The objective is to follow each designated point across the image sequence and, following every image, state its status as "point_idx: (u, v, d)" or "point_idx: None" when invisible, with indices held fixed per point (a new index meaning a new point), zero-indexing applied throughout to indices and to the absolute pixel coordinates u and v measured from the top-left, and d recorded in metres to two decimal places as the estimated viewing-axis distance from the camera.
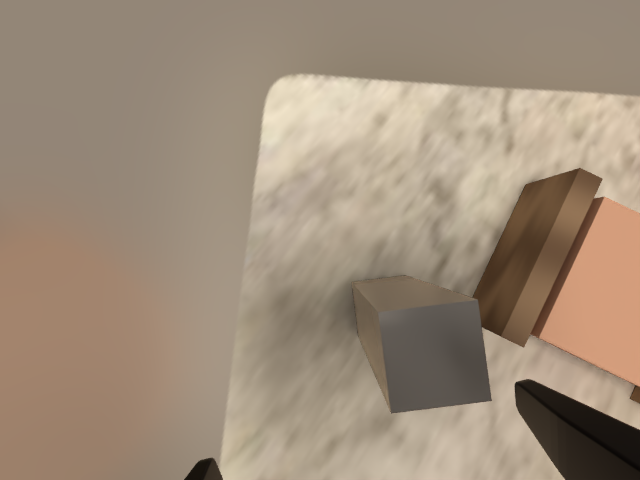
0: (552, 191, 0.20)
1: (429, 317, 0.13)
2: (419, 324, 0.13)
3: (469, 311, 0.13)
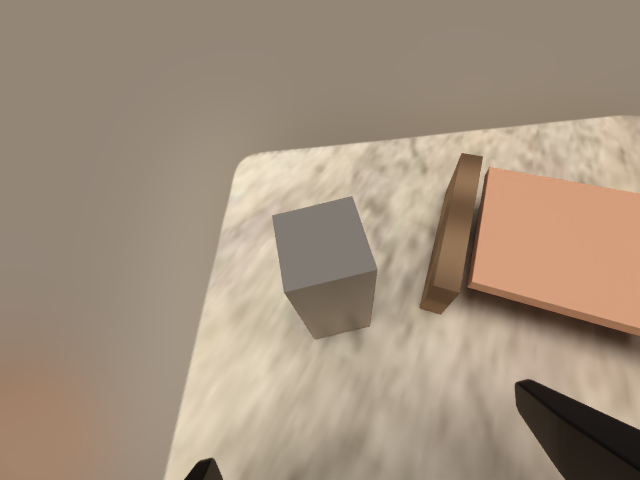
0: (453, 178, 0.25)
1: (313, 213, 0.15)
2: (305, 219, 0.15)
3: (346, 204, 0.15)
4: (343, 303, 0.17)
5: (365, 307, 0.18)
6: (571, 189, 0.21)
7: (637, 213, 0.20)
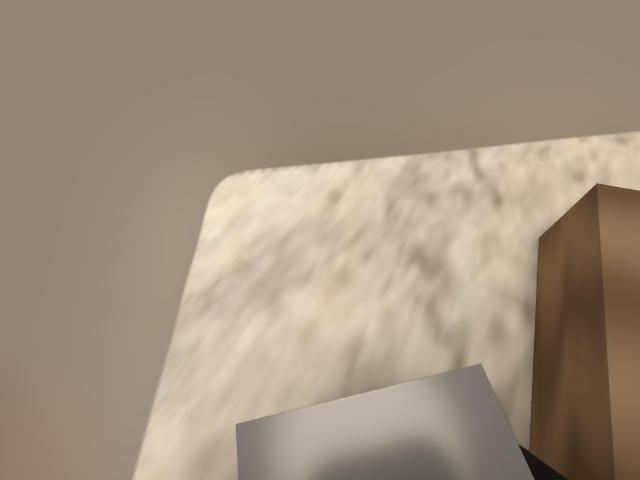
0: (576, 225, 0.14)
1: (366, 427, 0.05)
2: (341, 452, 0.05)
3: (469, 398, 0.05)
4: None
5: None
6: None
7: None
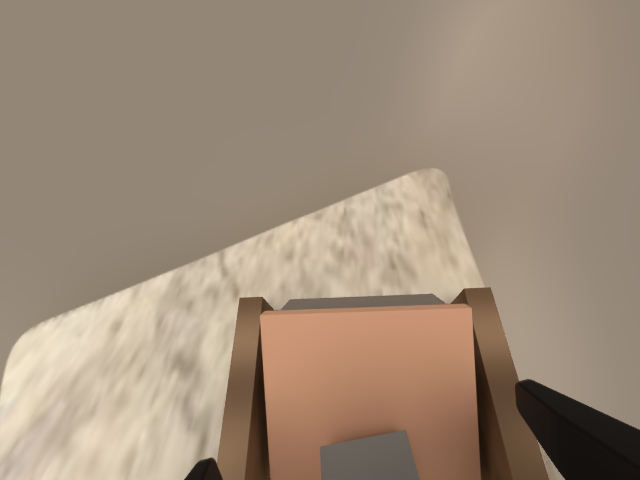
0: None
1: None
2: None
3: None
4: None
5: None
6: (354, 324, 0.17)
7: (423, 341, 0.17)
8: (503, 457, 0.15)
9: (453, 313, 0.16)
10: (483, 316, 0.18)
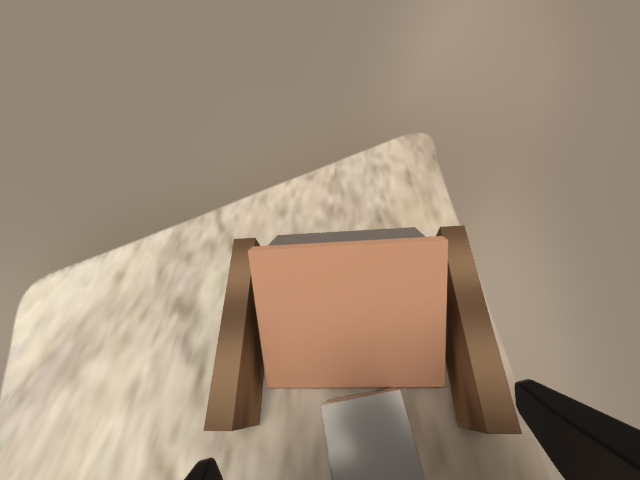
0: None
1: None
2: None
3: None
4: None
5: None
6: (337, 257, 0.18)
7: (401, 271, 0.18)
8: (468, 364, 0.17)
9: (430, 245, 0.17)
10: (456, 249, 0.19)
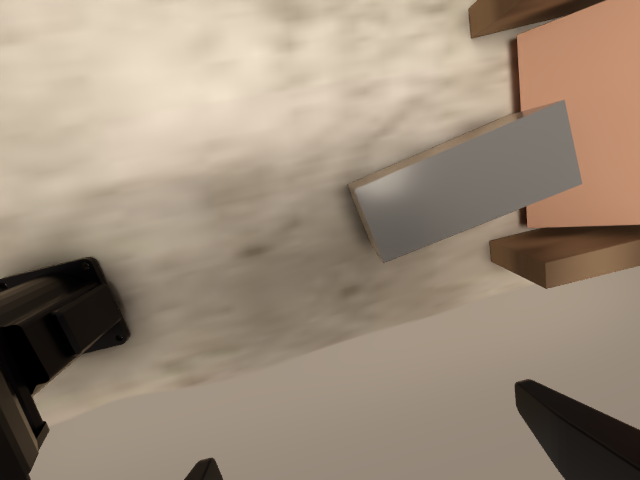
0: None
1: (367, 225, 0.16)
2: (364, 216, 0.17)
3: (379, 253, 0.17)
4: None
5: None
6: None
7: None
8: (592, 247, 0.17)
9: None
10: None
